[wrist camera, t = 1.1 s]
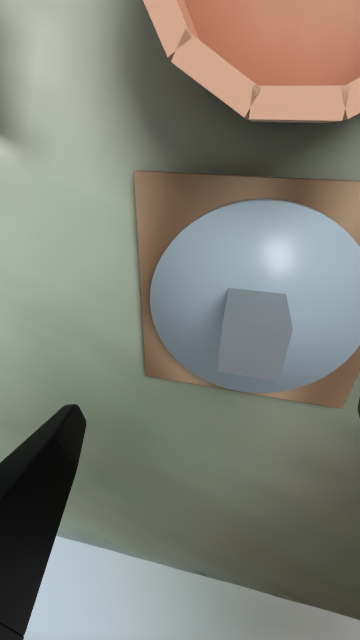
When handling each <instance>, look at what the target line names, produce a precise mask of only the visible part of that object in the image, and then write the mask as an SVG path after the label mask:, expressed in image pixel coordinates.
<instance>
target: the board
mask: <svg viewBox="0 0 360 640" xmlns="http://www.w3.org/2000/svg"><path fill="white" fill-rule="evenodd" d="M134 184H135V202H136V219H137V237H138V254H139V271H140V289H141V306H142V323H143V341H144V358H145V375H146V376H151V377H157V378H163V379H169V380H174V381H180V382H186V383H192V384H198V385H204V386H210V387H216V388H222V389H227V388H224V387H220V386H217V385H215V384H212V383H210V382H208V381H205V380H204V379H202V378H200V377H198V376H196V375H195V374H193V373H192V372H190V371H189V370H187V369H186V368H185V367H184V366H183V365H181V364H180V363H179V362H178V361H177V360H176V359H175V358H174V357H173V356H172V355H171V354H170V352H169V351H168V350H167V348H166V347H165V346H164V344H163V342H162V341H161V339H160V337H159V335H158V333H157V331H156V328H155V326H154V322H153V319H152V315H151V307H150V289H151V284H152V278H153V275H154V272H155V269H156V266H157V264H158V262H159V260H160V258H161V256H162V255H163V253H164V252H165V250H166V249H167V247H168V246H169V245H170V243H171V242H172V241H173V239H174V238H175V237H176V236H177V235H178V234H179V233H180V232H181V231H182V230H183V229H184V228H185V227H186V226H187V225H188V224H190V223H191V222H192V221H193V220H195V219H196V218H198V217H200V216H201V215H203V214H205V213H206V212H208V211H210V210H212V209H215V208H217V207H219V206H222V205H225V204H228V203H232V202H235V201H239V200H246V199H253V198H275V199H283V200H290V201H293V202H297V203H301V204H304V205H307V206H309V207H311V208H314V209H316V210H318V211H321V212H322V213H324V214H325V215H327V216H328V217H330V218H332V219H333V220H335V221H336V222H337V223H338V224H339V225H340V226H341V227H343V228H344V229H345V230H346V231H347V232H348V233H349V234H350V235H351V237H352V238H353V239H354V240H355V242H356V243H357V244H358V245H359V246H360V181H345V180H324V179H303V178H282V177H262V176H241V175H220V174H199V173H179V172H158V171H134ZM359 371H360V345H359V347H358V348H357V350H356V351H355V352H354V353H353V354H352V355H351V356H350V357H349V358H348V360H347V361H346V362H344V363H343V364H342V365H341V366H339V367H338V368H337V369H336V370H334V371H333V372H331V373H330V374H328V375H327V376H325V377H323V378H321V379H319V380H317V381H315V382H313V383H310V384H308V385H305V386H302V387H299V388H295V389H291V390H287V391H281V392H272V393H251V394H257V395H263V396H269V397H275V398H281V399H287V400H292V401H298V402H304V403H310V404H316V405H322V406H328V407H334V408H340V409H342V408H343V406H344V404H345V402H346V399H347V397H348V395H349V393H350V391H351V388H352V386H353V384H354V382H355V380H356V377H357V375H358V373H359ZM228 390H231V389H228ZM233 391H236V390H233ZM239 392H241V391H239ZM245 393H250V392H245Z"/></svg>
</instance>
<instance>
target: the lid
mask: <svg viewBox="0 0 360 640" xmlns="http://www.w3.org/2000/svg"><path fill="white" fill-rule="evenodd" d="M150 307H151V315H152V319H153V322H154V326H155V328H156V331H157V333H158V335H159V337H160V339H161V341H162V342H163V344H164V346H165V347H166V348H167V350H168V351H169V352H170V354H171V355H172V356H173V357H174V358H175V359H176V360H177V361H178V362H179V363H180V364H181V365H183V366H184V367H185V368H186V369H187V370H189V371H190V372H192V373H193V374H195V375H196V376H198V377H200V378H202V379H204V380H205V381H208V382H210V383H212V384H215V385H217V386H220V387H224V388H227V389H231V390H236V391H241V392H250V393H272V392H281V391H287V390H291V389H295V388H299V387H302V386H305V385H308V384H310V383H313V382H315V381H317V380H319V379H321V378H323V377H325V376H327V375H328V374H330V373H331V372H333V371H334V370H336V369H337V368H338V367H339V366H341V365H342V364H343V363H344V362H346V361H347V360H348V358H349V357H350V356H351V355H352V354H353V353H354V352H355V351H356V350H357V348H358V347H359V345H360V246H359V245H358V244H357V243H356V242H355V240H354V239H353V238H352V237H351V235H350V234H349V233H348V232H347V231H346V230H345V229H344V228H343V227H341V226H340V225H339V224H338V223H337V222H336V221H335V220H333V219H332V218H330V217H328V216H327V215H325V214H324V213H322V212H321V211H318V210H316V209H314V208H311V207H309V206H307V205H304V204H301V203H297V202H293V201H290V200H283V199H275V198H253V199H246V200H239V201H235V202H232V203H228V204H225V205H222V206H219V207H217V208H215V209H212V210H210V211H208V212H206V213H205V214H203V215H201V216H200V217H198V218H196V219H195V220H193V221H192V222H191V223H190V224H188V225H187V226H186V227H185V228H184V229H183V230H182V231H181V232H180V233H179V234H178V235H177V236H176V237H175V238H174V239H173V241H172V242H171V243H170V245H169V246H168V247H167V249H166V250H165V252H164V253H163V255H162V256H161V258H160V260H159V262H158V264H157V266H156V269H155V272H154V275H153V278H152V284H151V289H150Z"/></svg>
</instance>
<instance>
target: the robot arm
mask: <svg viewBox="0 0 360 640" xmlns="http://www.w3.org/2000/svg"><path fill="white" fill-rule="evenodd" d="M358 413H359V417H360V399H359V404H358ZM85 429H86V419H85V417H84V415H83V413H82V412H81V410H80V408H79V406H78V405H76V404H70V405H65V406H63V407H62V408H61V409H60V410H59V411H58V412H56V413H55V414H54V415H53V416H52V417H51V418H50V419H49V420H48V421H46V422H45V423H44V424H43V425H42V426H41V427H40V428H39V429H38V430H36V431H35V432H34V433H33V434H32V435H31V436H30V437H29V438H27V439H26V440H25V441H24V442H23V443H22V444H21V445H20V446H19V447H17V448H16V449H15V450H14V451H13V452H12V453H11V454H10V455H9V456H7V457H6V458H5V459H4V460H3V461H2V462H1V463H0V640H23V639H24V636H23V635H24V634H25V632H26V629H27V625H28V622H29V619H30V616H31V613H32V610H33V606H34V603H35V600H36V597H37V593H38V591H39V587H40V584H41V581H42V578H43V575H44V572H45V569H46V565H47V562H48V559H49V556H50V553H51V550H52V547H53V543H54V540H55V537H56V534H57V531H58V528H59V525H60V521H61V518H62V515H63V512H64V509H65V506H66V503H67V499H68V496H69V493H70V490H71V487H72V484H73V480H74V477H75V474H76V471H77V467H78V462H79V458H80V453H81V448H82V443H83V439H84V434H85Z"/></svg>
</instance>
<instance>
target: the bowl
mask: <svg viewBox="0 0 360 640" xmlns="http://www.w3.org/2000/svg"><path fill="white" fill-rule="evenodd" d="M143 2H144V4H145V6H146V9H147V11H148V13H149V15H150V18H151V20H152V22H153V25H154V27H155V29H156V32H157V34H158V36H159V39H160V41H161V43H162V46H163V48H164V50H165V52H166V55H167V57H168V58H169V59H170V60H171V62H172V63H173V64H174V65H176V66H177V67H178V68H179V69H181V70H182V71H183V72H184V73H186V74H187V75H188V76H190V77H191V78H192V79H193V80H195V81H196V82H197V83H199V84H200V85H201V86H203V87H204V88H205V89H207V90H208V91H209V92H210V93H212V94H213V95H214V96H216V97H217V98H218V99H220V100H221V101H222V102H224V103H225V104H226V105H228V106H229V107H230V108H232V109H233V110H234V111H235V112H237V113H238V114H239V115H241V116H242V117H243V118H245V119H246V120H248V119H249V120H250V121H251V122H281V123H290V122H294V123H327V122H336V121H342V120H346V119H349V118H351V117H353V116H355V115H357V114H359V113H360V0H143Z"/></svg>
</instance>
